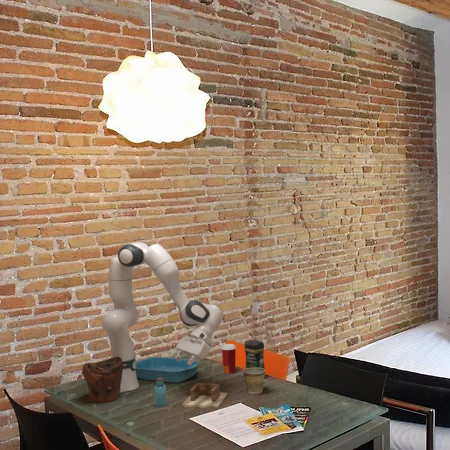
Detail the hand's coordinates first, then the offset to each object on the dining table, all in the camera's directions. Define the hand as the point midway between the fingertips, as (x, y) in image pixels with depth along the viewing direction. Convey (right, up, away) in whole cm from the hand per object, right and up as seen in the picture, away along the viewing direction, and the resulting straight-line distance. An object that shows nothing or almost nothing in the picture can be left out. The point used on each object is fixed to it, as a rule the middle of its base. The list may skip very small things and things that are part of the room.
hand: (182, 362), depth 276 cm
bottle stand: (+10, -16, -3) cm, 20 cm away
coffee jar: (+34, -14, +29) cm, 47 cm away
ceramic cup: (+34, -15, +7) cm, 38 cm away
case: (-37, -18, +7) cm, 41 cm away
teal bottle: (-9, -17, -6) cm, 21 cm away
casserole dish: (-11, -16, +38) cm, 43 cm away
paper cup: (+21, -14, +39) cm, 47 cm away
